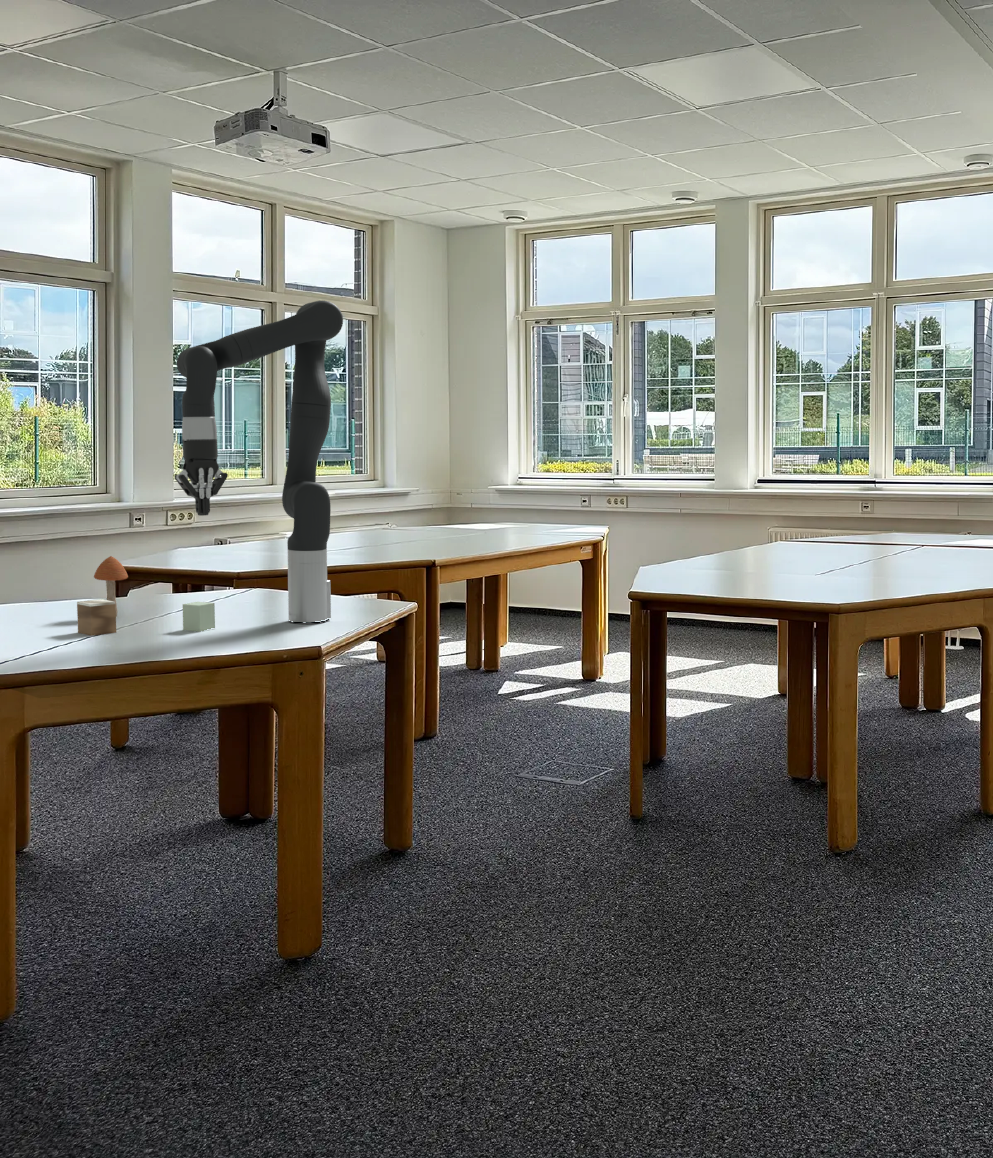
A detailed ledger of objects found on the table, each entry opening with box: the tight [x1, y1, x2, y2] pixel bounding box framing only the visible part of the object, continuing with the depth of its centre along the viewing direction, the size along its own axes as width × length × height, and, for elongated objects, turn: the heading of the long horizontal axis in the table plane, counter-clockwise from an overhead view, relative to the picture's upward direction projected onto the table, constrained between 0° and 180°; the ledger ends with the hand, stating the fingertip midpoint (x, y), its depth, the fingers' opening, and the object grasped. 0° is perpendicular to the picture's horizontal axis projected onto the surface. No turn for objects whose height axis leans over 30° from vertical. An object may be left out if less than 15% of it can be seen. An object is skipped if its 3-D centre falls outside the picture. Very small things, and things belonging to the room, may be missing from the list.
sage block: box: [182, 601, 216, 633], centre depth 269 cm, size 5×5×6 cm
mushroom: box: [93, 555, 129, 618], centre depth 286 cm, size 8×8×15 cm
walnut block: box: [76, 598, 117, 637], centre depth 264 cm, size 6×6×7 cm
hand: (203, 515), depth 266 cm, fingers closed
